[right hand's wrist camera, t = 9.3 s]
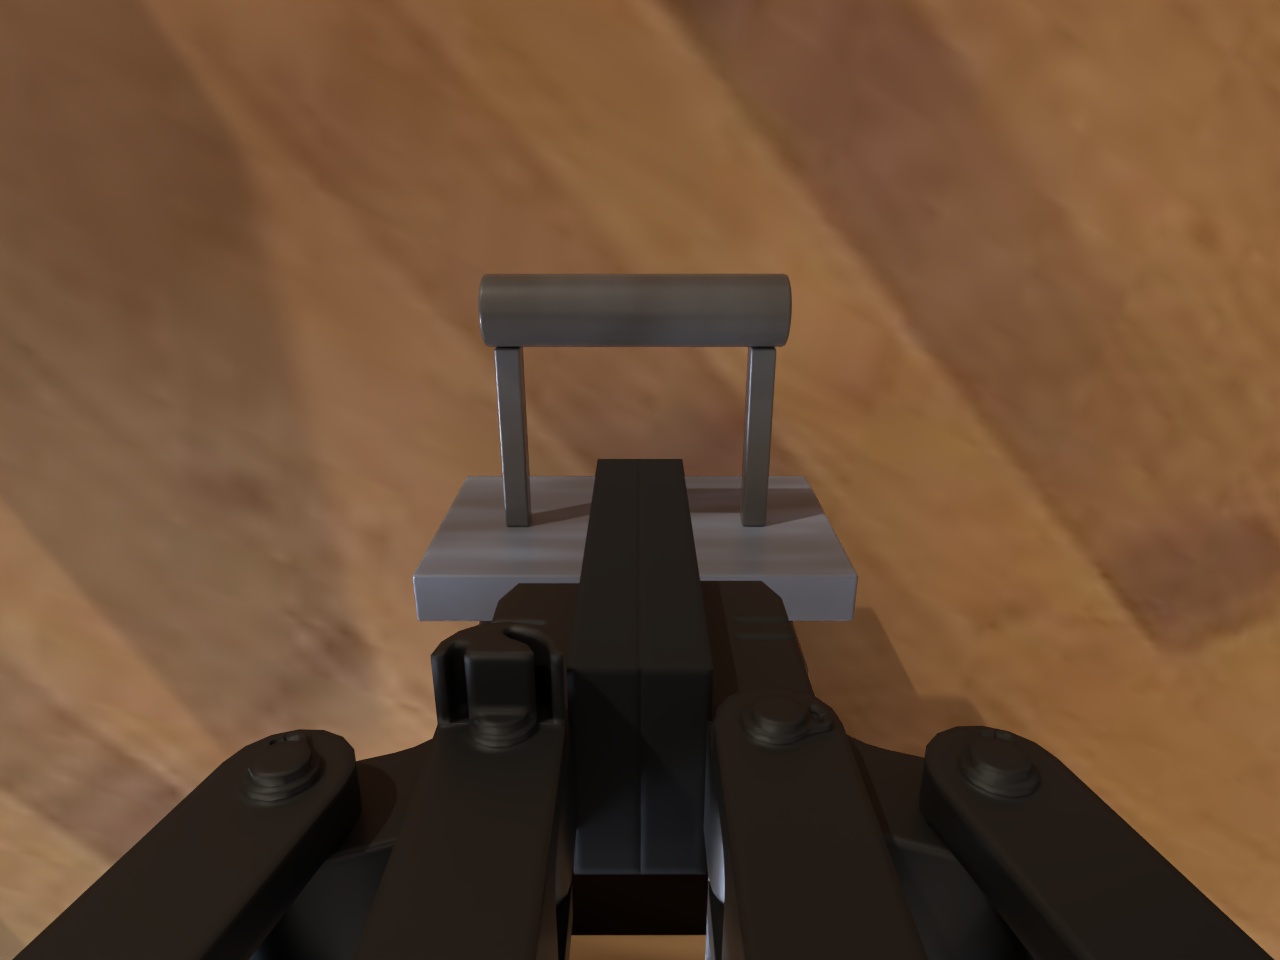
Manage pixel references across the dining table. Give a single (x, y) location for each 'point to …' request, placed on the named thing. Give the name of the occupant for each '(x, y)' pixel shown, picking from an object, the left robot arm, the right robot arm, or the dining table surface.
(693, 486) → the drawer
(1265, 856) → the dining table surface
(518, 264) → the dining table surface
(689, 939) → the cabinet
